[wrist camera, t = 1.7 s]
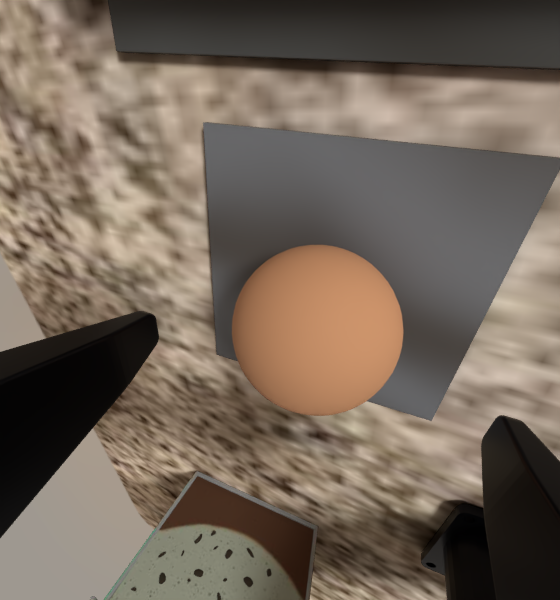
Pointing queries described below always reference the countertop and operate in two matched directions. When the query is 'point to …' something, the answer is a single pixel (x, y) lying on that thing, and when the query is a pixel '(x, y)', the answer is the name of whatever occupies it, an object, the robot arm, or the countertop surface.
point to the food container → (221, 550)
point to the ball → (317, 330)
